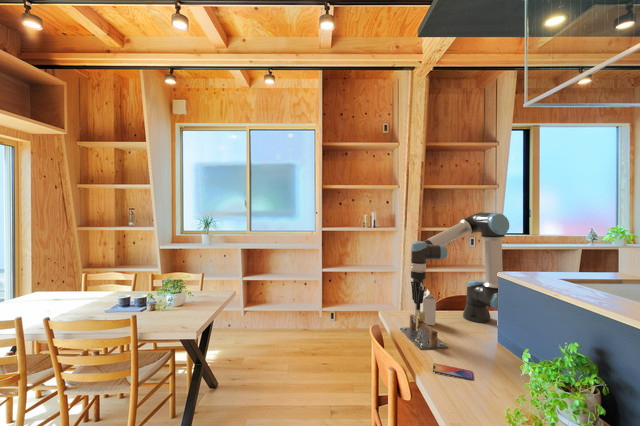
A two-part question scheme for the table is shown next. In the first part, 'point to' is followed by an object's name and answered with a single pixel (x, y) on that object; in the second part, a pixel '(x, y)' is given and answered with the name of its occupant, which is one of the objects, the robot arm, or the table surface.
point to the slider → (420, 318)
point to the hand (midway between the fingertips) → (417, 315)
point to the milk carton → (428, 308)
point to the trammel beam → (431, 332)
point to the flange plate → (422, 339)
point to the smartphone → (453, 371)
